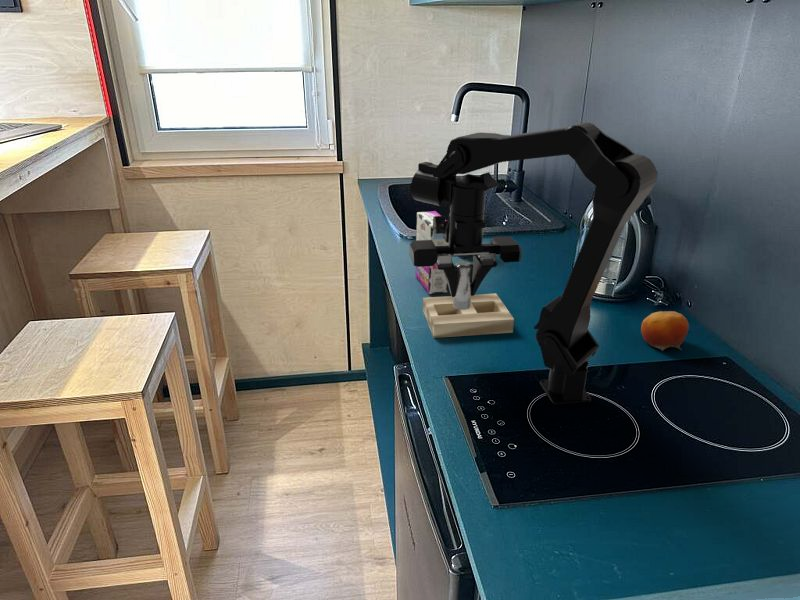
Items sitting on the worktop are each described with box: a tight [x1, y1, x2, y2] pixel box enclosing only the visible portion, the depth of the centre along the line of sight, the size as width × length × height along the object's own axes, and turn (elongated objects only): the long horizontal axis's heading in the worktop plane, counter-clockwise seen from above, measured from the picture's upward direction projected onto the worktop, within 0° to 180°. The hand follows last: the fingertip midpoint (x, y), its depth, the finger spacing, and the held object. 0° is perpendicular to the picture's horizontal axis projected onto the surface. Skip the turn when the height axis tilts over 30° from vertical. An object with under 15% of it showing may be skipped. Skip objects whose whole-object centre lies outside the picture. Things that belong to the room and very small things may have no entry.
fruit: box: [640, 310, 690, 352], centre depth 106 cm, size 8×8×8 cm
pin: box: [453, 261, 473, 310], centre depth 100 cm, size 3×3×8 cm
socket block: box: [422, 293, 515, 339], centre depth 115 cm, size 12×16×3 cm
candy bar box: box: [415, 210, 449, 295], centre depth 129 cm, size 11×5×16 cm, turn 15°
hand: (462, 295), depth 101 cm, fingers closed on pin, 3 cm apart
